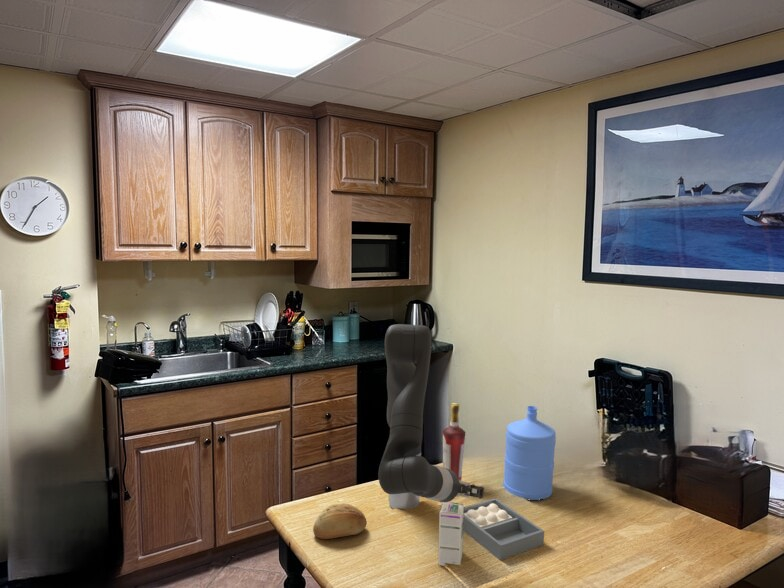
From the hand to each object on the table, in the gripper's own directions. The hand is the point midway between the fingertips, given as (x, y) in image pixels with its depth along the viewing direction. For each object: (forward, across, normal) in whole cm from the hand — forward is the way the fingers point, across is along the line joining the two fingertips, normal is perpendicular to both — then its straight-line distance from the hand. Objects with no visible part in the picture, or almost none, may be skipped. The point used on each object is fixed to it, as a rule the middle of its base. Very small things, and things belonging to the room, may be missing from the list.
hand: (463, 490), depth 139 cm
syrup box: (+8, +4, +18) cm, 20 cm away
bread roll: (+3, +35, +17) cm, 39 cm away
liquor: (+41, +21, -1) cm, 46 cm away
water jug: (+52, -1, -5) cm, 52 cm away
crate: (+24, -2, +10) cm, 26 cm away
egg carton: (+25, +2, +8) cm, 26 cm away
